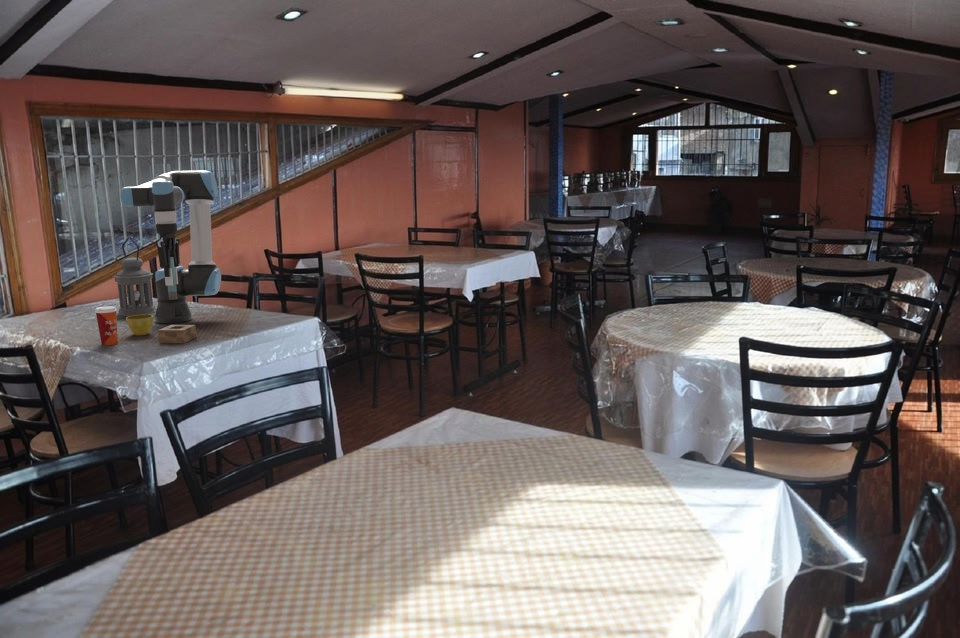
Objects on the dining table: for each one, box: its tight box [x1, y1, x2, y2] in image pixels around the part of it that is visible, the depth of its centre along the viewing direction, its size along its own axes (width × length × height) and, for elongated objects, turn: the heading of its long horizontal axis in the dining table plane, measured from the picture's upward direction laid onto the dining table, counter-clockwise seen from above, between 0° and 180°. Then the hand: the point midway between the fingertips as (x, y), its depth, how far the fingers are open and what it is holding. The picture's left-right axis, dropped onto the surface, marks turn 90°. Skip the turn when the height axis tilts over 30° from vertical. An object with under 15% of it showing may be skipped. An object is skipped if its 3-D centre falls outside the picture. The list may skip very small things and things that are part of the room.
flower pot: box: [125, 314, 154, 336], centre depth 317 cm, size 10×10×7 cm
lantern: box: [113, 236, 157, 317], centre depth 362 cm, size 17×17×35 cm
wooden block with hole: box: [157, 324, 197, 344], centre depth 305 cm, size 10×10×5 cm
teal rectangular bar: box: [168, 257, 177, 300], centre depth 301 cm, size 3×3×16 cm
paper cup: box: [94, 305, 119, 346], centre depth 300 cm, size 8×8×14 cm
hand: (171, 284), depth 301 cm, fingers closed on teal rectangular bar, 3 cm apart
